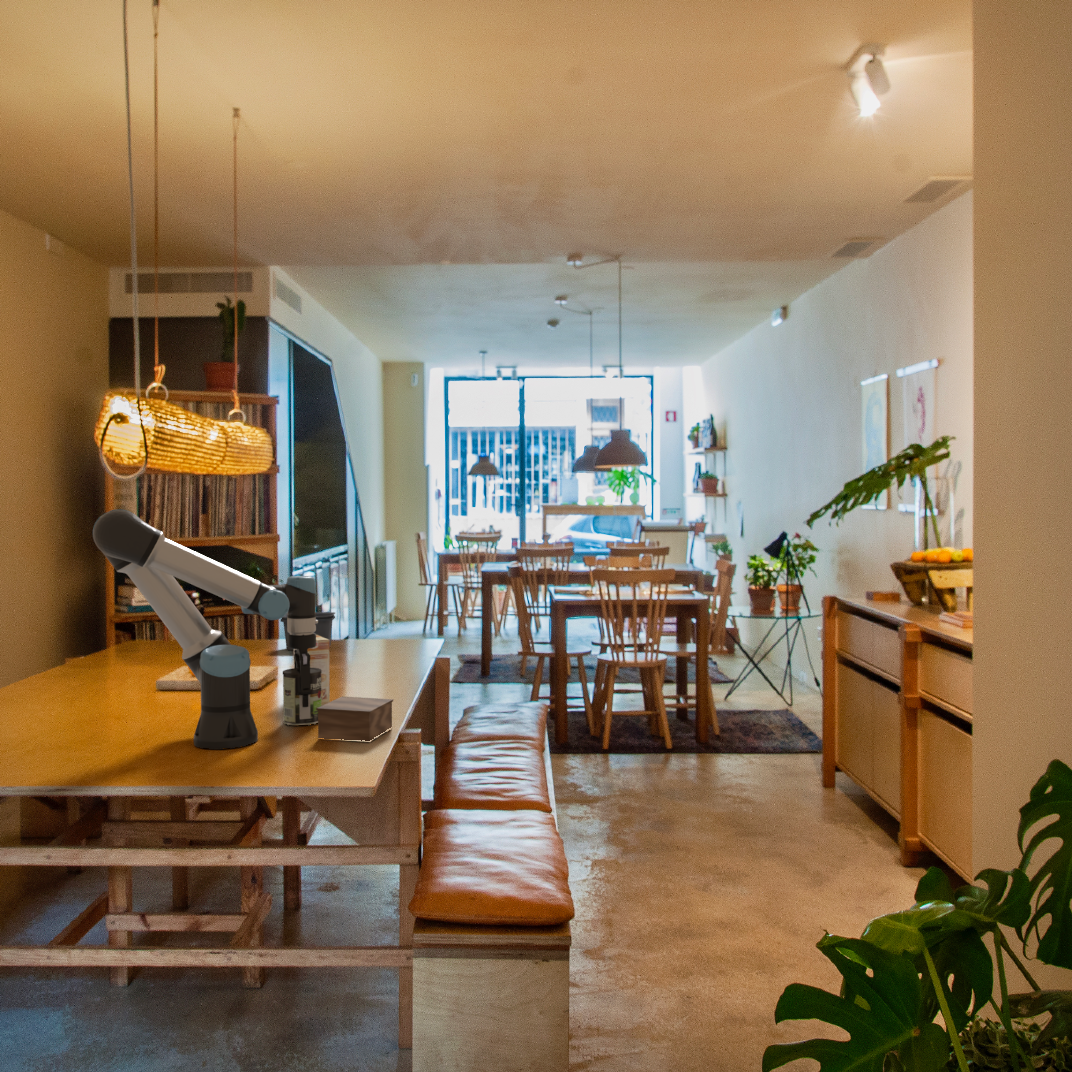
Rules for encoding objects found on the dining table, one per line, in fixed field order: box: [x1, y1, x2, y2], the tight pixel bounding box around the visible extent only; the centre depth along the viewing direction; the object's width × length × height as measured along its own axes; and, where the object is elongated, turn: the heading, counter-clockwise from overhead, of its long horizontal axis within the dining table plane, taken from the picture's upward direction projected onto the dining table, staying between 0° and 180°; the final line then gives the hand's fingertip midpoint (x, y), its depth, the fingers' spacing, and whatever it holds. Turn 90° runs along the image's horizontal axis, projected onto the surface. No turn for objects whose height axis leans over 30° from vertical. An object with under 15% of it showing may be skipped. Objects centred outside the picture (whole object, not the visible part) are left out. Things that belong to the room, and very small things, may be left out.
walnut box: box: [316, 696, 394, 741], centre depth 238 cm, size 15×15×8 cm
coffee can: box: [282, 667, 322, 726], centre depth 252 cm, size 10×10×14 cm
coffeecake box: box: [293, 635, 331, 706], centre depth 277 cm, size 15×7×20 cm, turn 30°
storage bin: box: [280, 611, 336, 651], centre depth 379 cm, size 21×16×14 cm
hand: (302, 714), depth 252 cm, fingers closed on coffee can, 10 cm apart
